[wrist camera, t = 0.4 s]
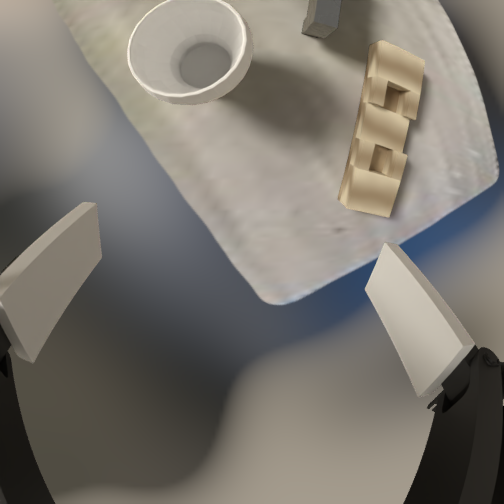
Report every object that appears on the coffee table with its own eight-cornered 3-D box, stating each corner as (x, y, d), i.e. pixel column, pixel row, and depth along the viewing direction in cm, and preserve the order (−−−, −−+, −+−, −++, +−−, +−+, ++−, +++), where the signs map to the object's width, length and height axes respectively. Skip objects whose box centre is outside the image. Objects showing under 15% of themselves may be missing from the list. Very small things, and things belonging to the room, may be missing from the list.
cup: (266, 56, 28) (281, 21, 14) (221, 121, 32) (206, 127, 19) (196, 22, 25) (167, -24, 11) (153, 87, 29) (99, 77, 16)
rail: (369, 45, 26) (382, 39, 22) (409, 63, 27) (424, 61, 23) (337, 198, 38) (346, 208, 34) (377, 207, 38) (389, 217, 35)
